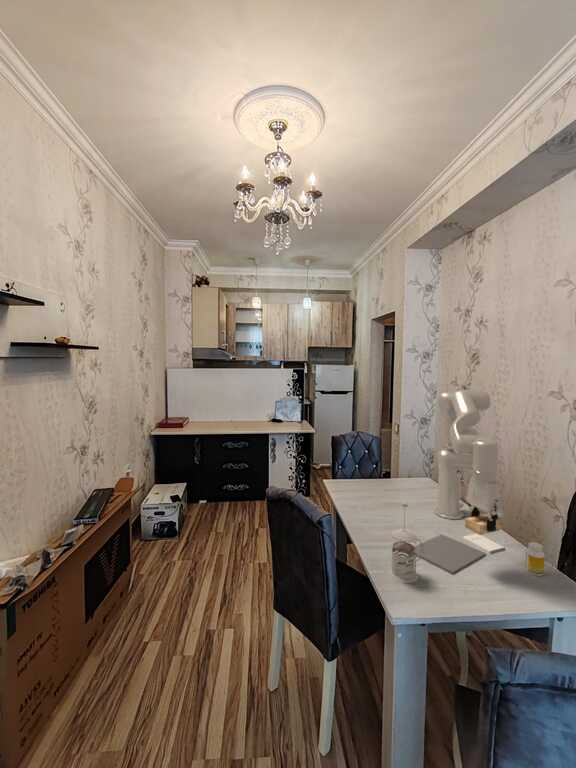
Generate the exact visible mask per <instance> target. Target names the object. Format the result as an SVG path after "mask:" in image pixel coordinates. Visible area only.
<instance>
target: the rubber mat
mask: <svg viewBox="0 0 576 768" xmlns="http://www.w3.org/2000/svg"><path fill="white" fill-rule="evenodd" d="M421 543H422V544H423V546H424V554H423V546H422V551H421V545H422V544H420V543H419V544H417V545H414V547H415V550H414V555H415V552H416V557H417V556H418V555H419V554H420V555H419V556H418V557H417V558H418V559H420V558H421V557H422V560H423V559H424V561H425V562H427V563H429V564H431V565H433V566H435V567H437V568H439V569H440V570H443V571H445V572H447V573H449V574H451V575H454V574H456V573H457V572H459V571H461V570H463V569H465V568H466V567H467V566H469V565H471V564H473V563H474V562H476V561H478V560H480V559H481V558H483V557H485V556H487V555H486V554H487V552H485V551H484V552H483V550H482V551H481V549H480V550H479V549H477V548H475V547H472V546H470V545H468V544H466V543H463V542H460V541H458V540H456V539H454V538H451V537H449V536H446V535H445V534H443V533H442V534H439V535H437V536H434V537H432V538H430V539H428V540H426V541H424V542H421ZM420 551H421V553H420ZM422 554H423V556H422Z"/></svg>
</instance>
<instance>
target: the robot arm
mask: <svg viewBox="0 0 576 768" xmlns="http://www.w3.org/2000/svg"><path fill="white" fill-rule="evenodd" d="M437 405H438V409H439V412H440V415H441V427H440V429H441V431H440V432H441V433H440V435H441V437H440V438H441V443H442V444H443V445H444V446H447V447H448V448H441V449H439V450H438V452H436V453H437V454H436V459H437V466H438V485H437V486H438V490H437V491H438V496H437V506H436V507H435V508H434V514H435V515H437V516H439V517H441V518H443V519H447V520H461V519H462V518H464V513H463V512H462V511H461V508H464V507H465V506H464V503H463V502H461V482H462V481H461V478H460V475H459V474H458V472H456V470H461V471H463V470H464V471H471V472H472V476H470V478H469V481H468V487H467V495H466V496H465V497H464V498H465V500H466V502H467V505H468V507H469V511H470V517H474V516H479V515H481V512H480V511H483V512H485V513H486V514H487V515H488V518H489V520H487V531H488V532H490V533H492V532H491V531H494V532H496V531H495V530H496V520H500V518H501V517H504V516H505V512H504V510H503V509H502V507H501V493H500V485H499V482H498V471H499V470H498V468H499V467H498V466H499V444H498V443H497V442H496V441H495V440H494V438H493V437H492V436H489V435H479V432H478V430H477V429H476V428H475V427H474V426H477V425H478V424H479V423H480V422H481V419H482V417H481V413H480V412H481V411H487V410H488V409H490V407H491V397H490V394H489V393H488V392H487V391H486V390H483V389H458V390H455V391H454V390H453V391H443V392H441V393H439V394H438V397H437ZM449 447H452V448H449Z"/></svg>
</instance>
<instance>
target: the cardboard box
mask: <svg viewBox="0 0 576 768" xmlns="http://www.w3.org/2000/svg"><path fill="white" fill-rule="evenodd" d="M464 519H465V523H464V527H465V529H467V530H470V531H471V532H473V533H474V534H479V535H481V536H483V535H485V534H489V533H494V532H498V531H501V530H502V520H500V519H498V520H496V530H495V531H491V532H488V531H487V520H489V518H488V514H487V513H485V514H480V515H479V516H474V517H471V516H470V517H465V518H464Z"/></svg>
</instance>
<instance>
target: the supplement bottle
mask: <svg viewBox="0 0 576 768" xmlns="http://www.w3.org/2000/svg"><path fill="white" fill-rule="evenodd" d="M543 550H544V546H543V545H542V544H540V543H538V542H533V541H531V542H529V543H528V548H526V549H525V561H524V562H525V563H524V569H525V571H526V572H527V573H529V574H530V575H532V576H536V577H537V576H538V577H542V576H543V575H545V559H546V556H545V553H544V551H543Z"/></svg>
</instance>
